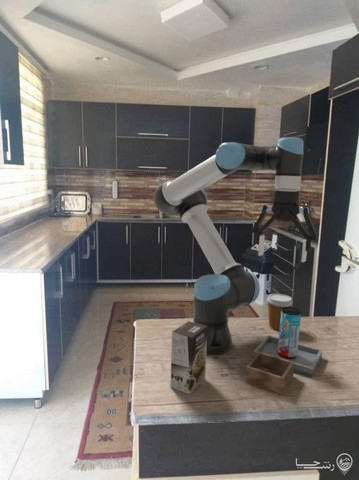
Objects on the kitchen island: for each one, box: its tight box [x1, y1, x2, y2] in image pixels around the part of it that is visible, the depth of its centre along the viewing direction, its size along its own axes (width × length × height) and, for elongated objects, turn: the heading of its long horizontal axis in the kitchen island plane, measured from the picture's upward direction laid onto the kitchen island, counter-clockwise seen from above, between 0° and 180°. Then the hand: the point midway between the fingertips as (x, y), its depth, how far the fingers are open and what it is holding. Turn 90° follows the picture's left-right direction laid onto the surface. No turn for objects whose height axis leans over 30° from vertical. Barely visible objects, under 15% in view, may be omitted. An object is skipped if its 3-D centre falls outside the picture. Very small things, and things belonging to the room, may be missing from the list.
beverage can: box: [278, 306, 302, 359], centre depth 111 cm, size 6×6×15 cm
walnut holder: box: [244, 352, 295, 395], centre depth 100 cm, size 11×11×4 cm
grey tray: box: [252, 335, 323, 378], centre depth 112 cm, size 18×14×2 cm
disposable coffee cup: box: [266, 293, 294, 331], centre depth 135 cm, size 10×10×12 cm
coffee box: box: [169, 320, 208, 395], centre depth 96 cm, size 9×6×16 cm
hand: (281, 258), depth 111 cm, fingers open, 13 cm apart
